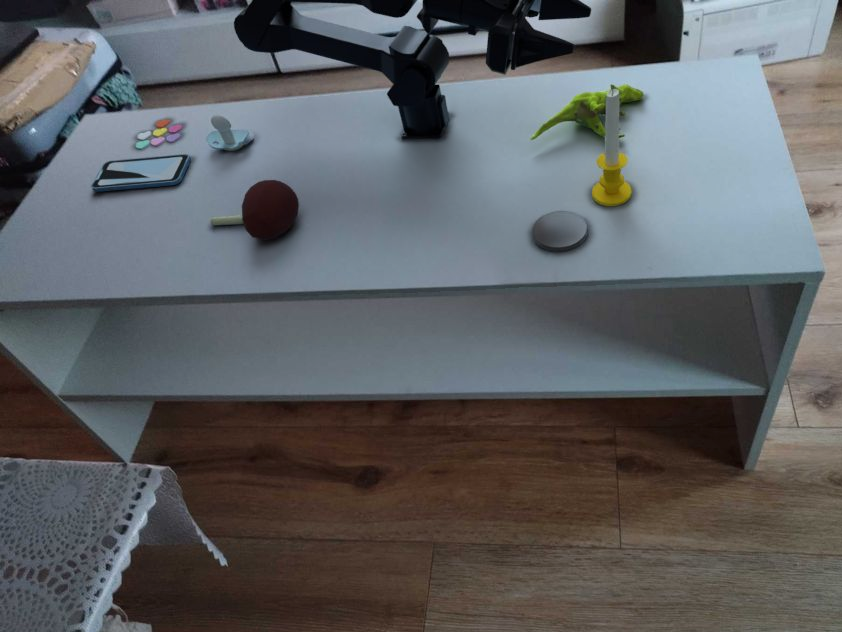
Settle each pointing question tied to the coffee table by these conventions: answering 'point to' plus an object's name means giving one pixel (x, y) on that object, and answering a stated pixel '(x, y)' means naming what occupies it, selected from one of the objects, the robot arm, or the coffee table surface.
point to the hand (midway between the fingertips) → (582, 30)
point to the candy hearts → (159, 133)
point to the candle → (612, 160)
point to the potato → (269, 209)
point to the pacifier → (227, 135)
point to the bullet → (226, 220)
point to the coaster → (559, 231)
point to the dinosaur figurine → (590, 109)
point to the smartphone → (141, 172)
